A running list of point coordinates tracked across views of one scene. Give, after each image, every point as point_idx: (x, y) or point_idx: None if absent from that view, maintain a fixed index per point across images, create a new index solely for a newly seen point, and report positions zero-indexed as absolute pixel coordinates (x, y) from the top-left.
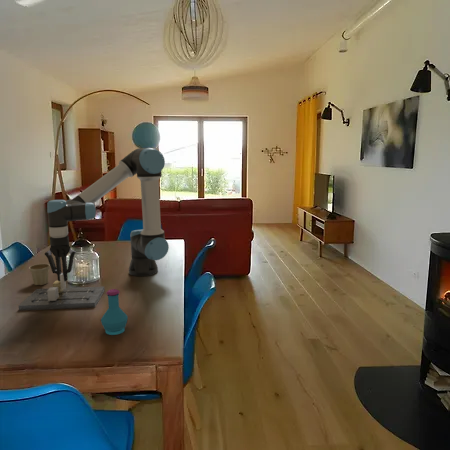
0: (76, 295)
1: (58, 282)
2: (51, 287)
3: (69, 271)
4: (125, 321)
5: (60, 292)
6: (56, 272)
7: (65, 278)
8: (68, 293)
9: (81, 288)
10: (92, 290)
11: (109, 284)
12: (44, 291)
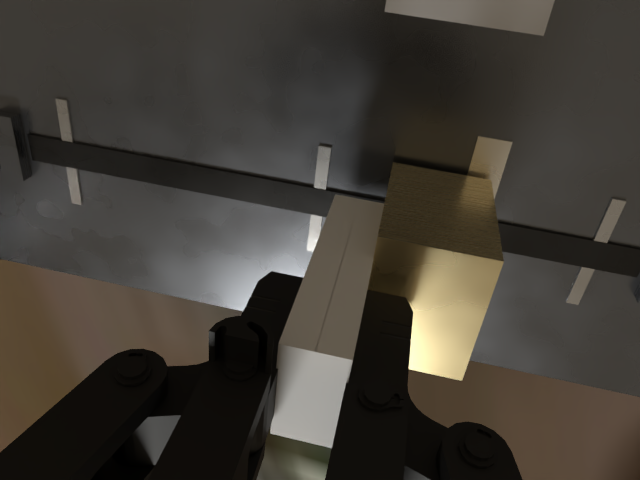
0: (164, 21)
1: (406, 280)
2: (523, 17)
3: (112, 368)
4: None
5: (394, 166)
6: (419, 439)
7: (270, 302)
8: (291, 136)
9: (176, 265)
10: (2, 127)
11: (14, 361)
12: (614, 304)
